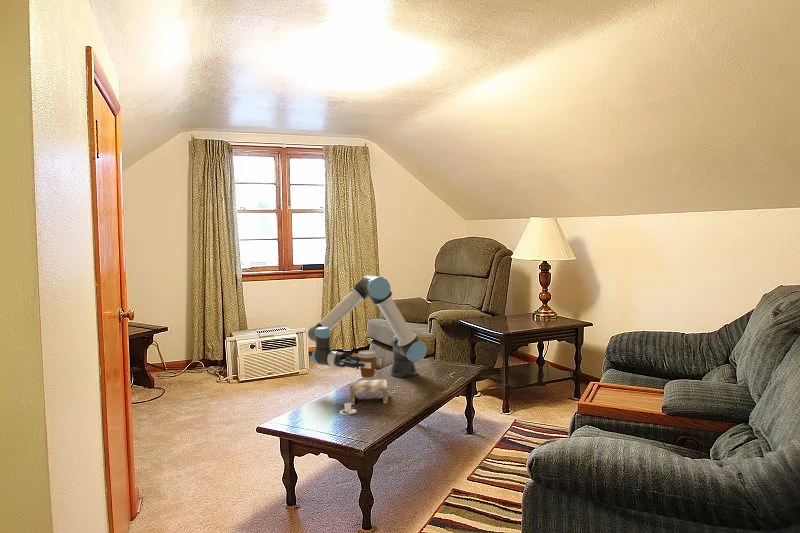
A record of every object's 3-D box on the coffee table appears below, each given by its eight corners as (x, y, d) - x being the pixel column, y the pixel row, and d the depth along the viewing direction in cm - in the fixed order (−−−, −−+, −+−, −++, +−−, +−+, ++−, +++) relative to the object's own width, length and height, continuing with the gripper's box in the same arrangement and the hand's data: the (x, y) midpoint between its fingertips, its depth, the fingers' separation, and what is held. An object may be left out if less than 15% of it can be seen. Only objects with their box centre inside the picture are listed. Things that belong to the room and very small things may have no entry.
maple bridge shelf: (386, 393, 288) (385, 379, 288) (387, 403, 272) (387, 387, 272) (350, 395, 287) (350, 380, 287) (350, 405, 271) (350, 389, 271)
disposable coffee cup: (374, 378, 273) (374, 354, 273) (355, 378, 275) (355, 353, 275) (379, 373, 283) (378, 350, 282) (361, 373, 285) (360, 349, 284)
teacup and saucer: (358, 415, 257) (357, 406, 257) (340, 416, 256) (340, 407, 256) (355, 409, 266) (355, 400, 266) (338, 410, 264) (338, 402, 264)
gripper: (350, 362, 297) (387, 366, 285) (325, 371, 279) (363, 376, 267) (350, 348, 297) (386, 352, 285) (325, 356, 279) (363, 360, 267)
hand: (375, 363), depth 276 cm, fingers closed on disposable coffee cup, 8 cm apart
